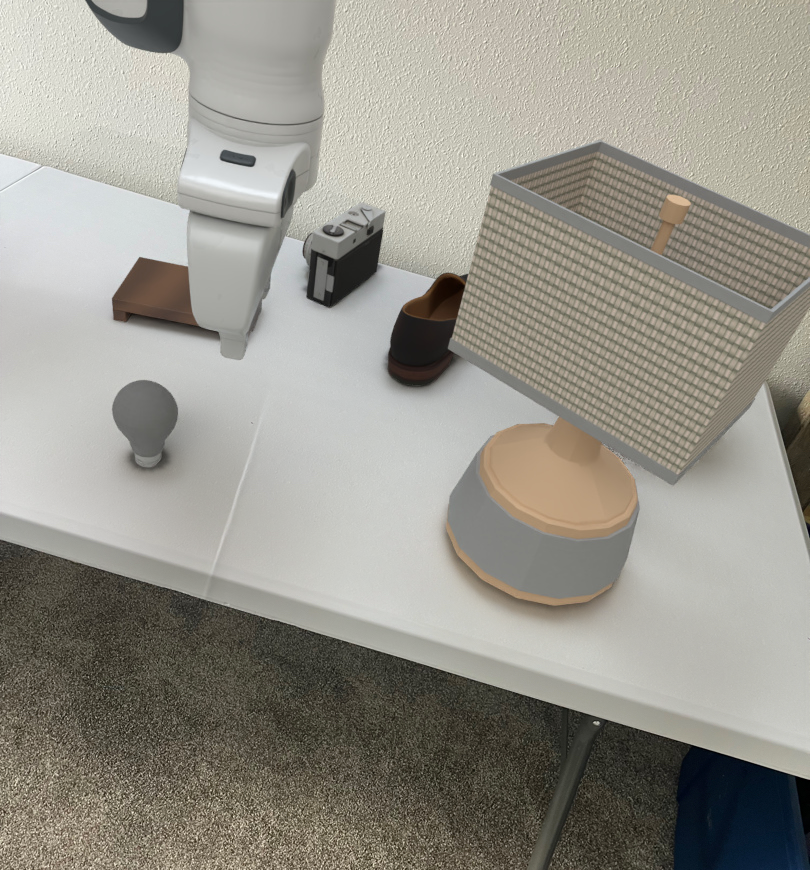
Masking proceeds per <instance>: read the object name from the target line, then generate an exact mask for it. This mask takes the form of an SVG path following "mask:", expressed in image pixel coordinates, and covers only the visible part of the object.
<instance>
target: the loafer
mask: <svg viewBox="0 0 810 870" xmlns="http://www.w3.org/2000/svg"><path fill="white" fill-rule="evenodd" d="M468 274H469V273H465V274H462V275H458V274H456V273H453V272H443V273H441V274H439V275H438V276H437V277H436V279H435V280H434V281H433V282H432V283H431V286H430V287H429V288H428V289H427V291H426V292H425V293H424V294H422V295H421V296H418V297H415V298H413V299H411V300H409V301H407V302H405V303H404V304H403V305H402V306H401V308H400V311H399V313H398V315H397V317H396V320H395V322H394V325H393V328H392V331H391V335H390V341H389V346H390V347H389V349H388V354H387V372H388V374H389V375H390V376H391V378H393V379H394V380H396V382H399V383H400V384H402V385H407V386H414V387H416V386H417V387H418V386H427V385H430V384H432V383H433V382H436V380H437V379H438V378H440V376H441V375H442V374H443V373H444V372H445V370H447V368H449V366H450V363H451V362H452V360H453V359H452V358H453V356H454V355H455V354H456V353H454V352H452V351H451V350H449V349H448V346H449V342H450V338H452V336H453V332H454V328H455V324H456V320H457V316H458V312H459V309H460V305H461V301H462V297H463V293H464V289H465V285H466V282H467V278H468Z"/></svg>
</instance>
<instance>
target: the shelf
mask: <svg viewBox="0 0 810 870" xmlns="http://www.w3.org/2000/svg"><path fill="white" fill-rule="evenodd" d="M111 305H112V317H113V318H112V319H113V320H114V321H118V322H123V323H127V322H128V320H129V318H130V316H131V315H132V314H135V315H139V316H146V317H150V318H156V319H161V320H165V321H171V322H176V323H182V324H186V325H192V326H197V327H200V326H199V325H198V323H197V322H196V320H195V317H194V315H193V312H192V306H191V297H190V285H189V272H188V265H182V264H176V263H174V262H173V263H172V262H167V261H162V260H157V259H153V258H148V257H143V256H139V257H138V258H137V260H136V261H135V263H134V265H133V266H132V267H131V269H130V270H129V271H128V273H127V275H126V276H125V278H124V279H123V280H122V282H121V284H120V285H119V287H118V288H117V290H116V291H115V293H114V294H113V295H112V297H111ZM262 308H263V299H260V302H259V304H258V307H257V309H256V312H255V315H254V317H253V320H252V322H251V325H250V328H249V330H248V338H249V337H250V334H251V332H252V333H253V332H254V330H255V327H256V324H257V322H258V319H259V317H260V314H261V312H262Z"/></svg>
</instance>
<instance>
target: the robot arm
mask: <svg viewBox="0 0 810 870" xmlns="http://www.w3.org/2000/svg"><path fill="white" fill-rule="evenodd" d="M84 1H85V3H86V4H87V6H88V8H89V9H90V11H91V12H92V14H93V15H94V17H95V18H96V19H97V20H98V22H99V23H100V24H101V25H102V26H103V27H104V29H106V31H107V32H109V34H111V35H112V36H113V37H114V38H116V39H117V40H118V41H119V42H120V43H122V44H124V45H125V46H127V47H130V48H133V49H137V50H141V51H145V52H149V53H157V54H171V55H175V56H178V57H180V58H181V59H182V60H184V62H185V64H186V65H187V67H188V71H189V80H188V88H187V89H188V91H187V92H188V97H187V98H188V99H187V100H188V102H187V103H188V104H187V105H188V107H187V108H188V121H187V125H186V148H185V150H184V155H183V159H182V161H181V164H180V168H179V173H178V177H177V182H176V183H177V184H176V185H177V186H176V189H177V191H176V193H177V194H176V195H177V204H178V206H179V208H181V209H183V210H187V211H189V212H188V216H187V224H186V254H187V255H186V256H187V266H188V272H189V285H190V297H191V306H192V312H193V315H194V317H195V320H196V322H197V323H198V325H199V326H198V327H201V328H203V329H205V330H210V331H214V332H218V335H219V337H220V339H219V340H220V341H219V342H220V343H219V345H220V347H219V348H220V349H219V353H220V355H221V356H222V357H223V358H226V359H230V360H236V361H241V360H243V359H244V357H245V354H246V352H247V349H248V344H249V343H248V342H249V341H248V339H249V337H248V330H249V328H250V325H251V322H252V320H253V317H254V315H255V312H256V309H257V307H258V304H259V302H260V299H262V300H265V299H266V298H267V296H268V294H269V291H270V289H271V282H272V271H273V268H274V266H275V263H276V260H277V258H278V255H279V253H280V250H281V248H282V245H283V243H284V240H285V238H286V235H287V232H288V230H289V228H290V225H291V222H292V219H293V215H294V208H295V205H296V204H297V201H298V199H300V197H301V196H302V195H303V193H305V192H307V191H309V190H310V189H312V188H313V187H314V186H315V184H316V183H317V180H318V174H319V173H318V172H319V163H320V154H321V146H322V145H321V144H322V135H323V128H324V127H323V125H324V116H325V107H326V106H325V105H326V103H325V94H324V89H323V88H324V87H323V68H324V62H325V59H326V56H327V53H328V50H329V47H330V45H331V42H332V39H333V34H334V33H333V31H334V25H335V13H336V3H337V0H84Z"/></svg>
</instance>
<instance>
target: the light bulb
mask: <svg viewBox="0 0 810 870" xmlns="http://www.w3.org/2000/svg"><path fill="white" fill-rule="evenodd" d="M111 412H112V413H111V414H112V416H113V417H112V418H113V422H114V423H115V425H116V427H117V429H118V430H119V431H120V433H121V434H122V435H123V436H124V437H125V438H126V439H127V441H129V445H130V448H131V449H132V451H133V453H134V461H135V463H136V464H137V465H138V466H140V467H143V468H153V467H156V466H157V465H158V463H160V461H161V460H162V457H163V455H162V454H163V453H162V452H163V450H164V448H165V445H166V440H167V439H168V437H169V436H170V435H171V433H172V431H173V430H175V428H176V424H177V423H178V419H179V407H178V403H177V401H176V399H175V397H174V395H173V394H172V393H171V392H170V390H169V389H167V388H166V387H165V386H163V385H162V384H160V383H158V382H156V381H153V380H150V379H149V380H148V379H138V380H134V381H132V382H128V383H127V384H126V385H125V386H123V387H121V389H120V390H119V391H118V392H117V394H116V396H115V397H114V399H113V402H112V408H111Z"/></svg>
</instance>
